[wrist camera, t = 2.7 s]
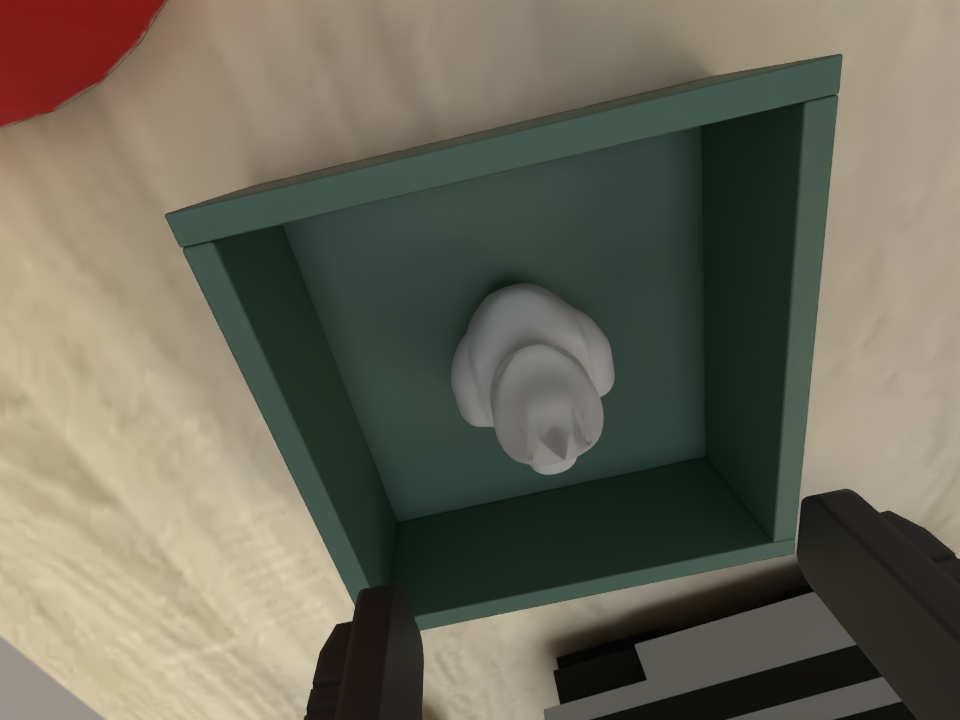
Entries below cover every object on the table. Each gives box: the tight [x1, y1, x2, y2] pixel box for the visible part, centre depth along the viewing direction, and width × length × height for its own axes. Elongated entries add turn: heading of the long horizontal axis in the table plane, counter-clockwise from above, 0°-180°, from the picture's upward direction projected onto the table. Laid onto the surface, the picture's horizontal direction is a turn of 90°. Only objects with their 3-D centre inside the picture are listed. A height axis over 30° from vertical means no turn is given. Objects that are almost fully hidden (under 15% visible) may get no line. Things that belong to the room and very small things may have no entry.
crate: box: [165, 54, 842, 631], centre depth 17 cm, size 16×16×6 cm
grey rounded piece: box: [451, 283, 615, 475], centre depth 15 cm, size 5×7×8 cm
